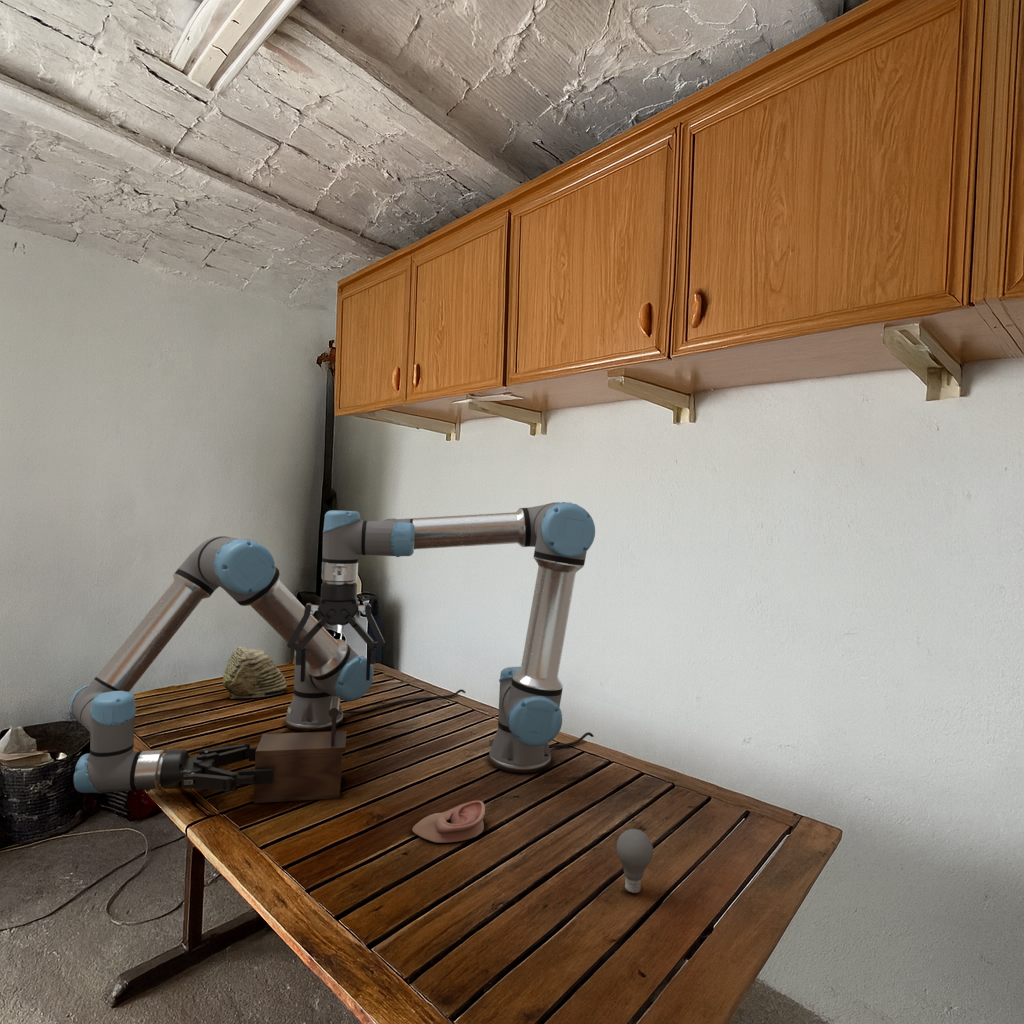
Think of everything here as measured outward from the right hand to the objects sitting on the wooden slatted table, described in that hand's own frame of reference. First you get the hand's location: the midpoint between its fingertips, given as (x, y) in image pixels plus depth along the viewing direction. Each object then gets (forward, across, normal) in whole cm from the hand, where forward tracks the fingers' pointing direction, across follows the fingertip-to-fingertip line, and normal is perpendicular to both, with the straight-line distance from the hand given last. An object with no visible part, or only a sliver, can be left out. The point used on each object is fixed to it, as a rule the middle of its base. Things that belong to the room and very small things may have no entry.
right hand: (335, 679), depth 137 cm
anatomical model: (+24, +23, -20) cm, 39 cm away
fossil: (+24, -27, +68) cm, 77 cm away
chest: (+24, -7, 0) cm, 25 cm away
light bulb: (+24, +51, -45) cm, 72 cm away
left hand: (+18, -11, 0) cm, 21 cm away
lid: (+14, -6, 0) cm, 16 cm away
